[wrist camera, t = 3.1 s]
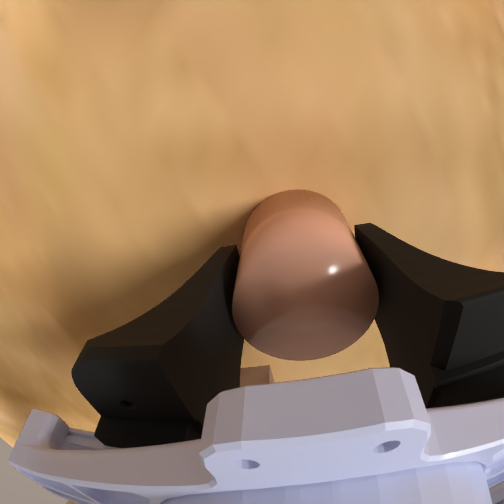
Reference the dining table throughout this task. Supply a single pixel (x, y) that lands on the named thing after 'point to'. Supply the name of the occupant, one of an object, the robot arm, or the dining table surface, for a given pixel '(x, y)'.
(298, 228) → the egg
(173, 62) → the dining table surface
